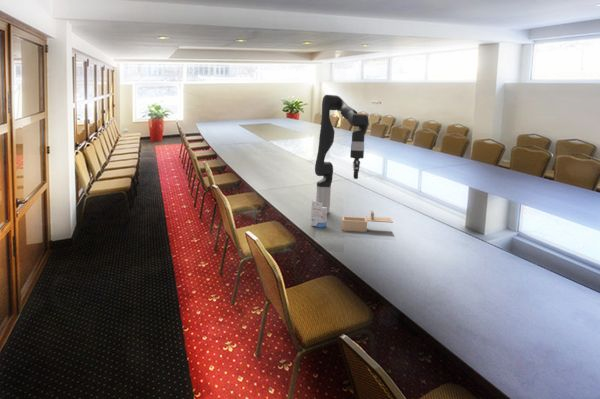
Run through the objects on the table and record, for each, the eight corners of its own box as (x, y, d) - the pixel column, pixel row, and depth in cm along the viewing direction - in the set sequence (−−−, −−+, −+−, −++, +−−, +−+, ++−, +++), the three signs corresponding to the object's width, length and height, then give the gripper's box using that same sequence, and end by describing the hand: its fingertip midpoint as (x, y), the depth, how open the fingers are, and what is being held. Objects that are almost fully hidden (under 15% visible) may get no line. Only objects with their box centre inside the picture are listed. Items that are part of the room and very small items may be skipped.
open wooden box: (341, 226, 242) (342, 216, 241) (365, 227, 241) (366, 217, 240) (342, 230, 232) (342, 220, 231) (366, 231, 230) (367, 221, 229)
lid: (365, 217, 240) (366, 209, 240) (390, 218, 239) (390, 211, 238) (367, 221, 229) (367, 213, 228) (392, 222, 228) (393, 214, 227)
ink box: (326, 226, 240) (327, 202, 238) (321, 227, 236) (322, 203, 234) (315, 224, 245) (316, 200, 243) (310, 225, 242) (311, 201, 239)
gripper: (364, 150, 222) (362, 179, 224) (363, 149, 236) (361, 177, 238) (351, 149, 223) (349, 179, 225) (350, 149, 237) (348, 176, 239)
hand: (355, 178), depth 232 cm, fingers open, 8 cm apart
